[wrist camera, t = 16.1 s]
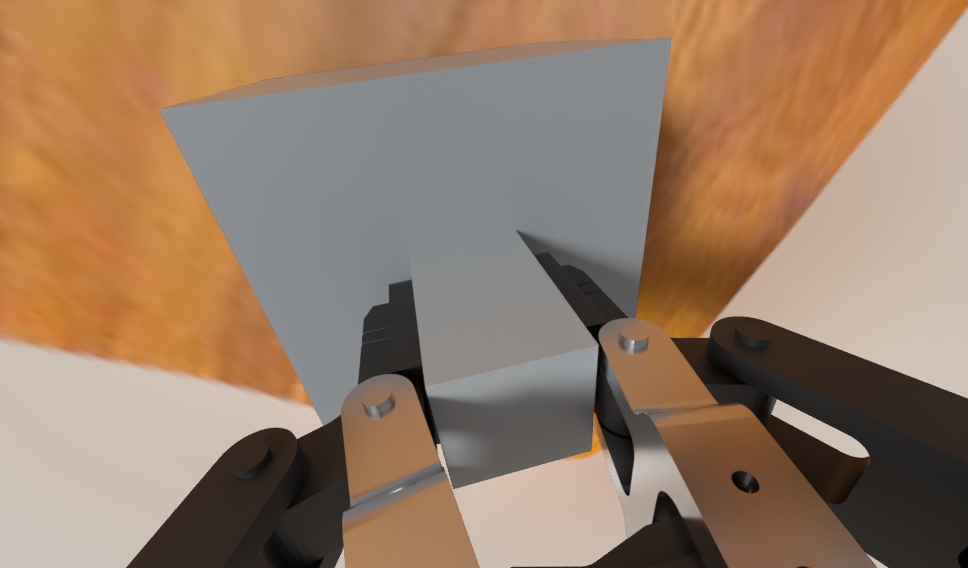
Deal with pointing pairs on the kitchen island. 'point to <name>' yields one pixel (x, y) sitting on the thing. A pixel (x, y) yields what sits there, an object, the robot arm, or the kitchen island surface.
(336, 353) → the grey block
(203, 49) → the kitchen island surface
